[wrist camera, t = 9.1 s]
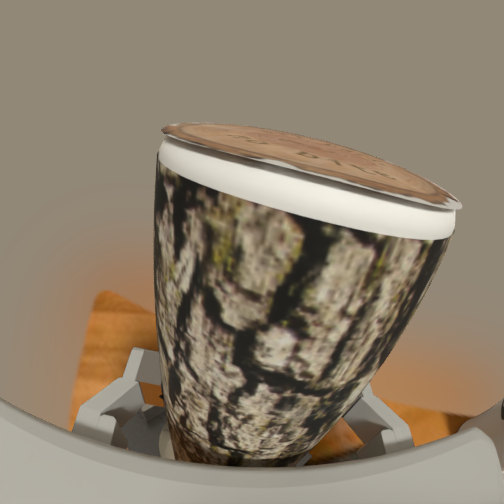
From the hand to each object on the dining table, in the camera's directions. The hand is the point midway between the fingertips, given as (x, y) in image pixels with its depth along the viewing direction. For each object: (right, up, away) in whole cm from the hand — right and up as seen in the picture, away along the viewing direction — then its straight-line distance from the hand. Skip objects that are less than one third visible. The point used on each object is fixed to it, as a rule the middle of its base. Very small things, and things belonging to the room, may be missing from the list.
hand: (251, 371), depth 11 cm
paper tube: (-3, -14, +7) cm, 16 cm away
